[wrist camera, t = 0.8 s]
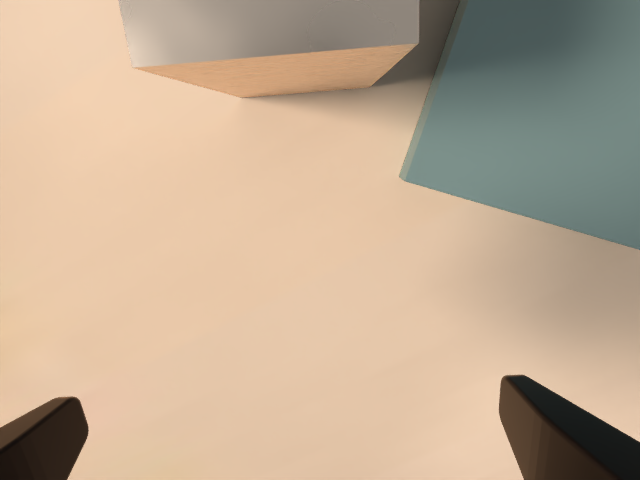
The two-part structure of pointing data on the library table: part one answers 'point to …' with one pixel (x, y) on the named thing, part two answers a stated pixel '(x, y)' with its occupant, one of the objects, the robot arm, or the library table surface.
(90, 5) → the library table surface
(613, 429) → the robot arm
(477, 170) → the lipped steel plate
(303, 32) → the aluminium block
